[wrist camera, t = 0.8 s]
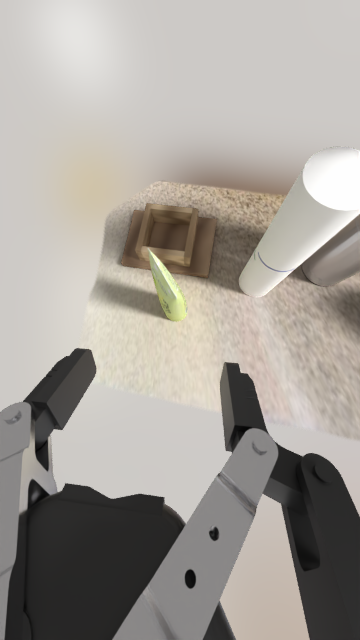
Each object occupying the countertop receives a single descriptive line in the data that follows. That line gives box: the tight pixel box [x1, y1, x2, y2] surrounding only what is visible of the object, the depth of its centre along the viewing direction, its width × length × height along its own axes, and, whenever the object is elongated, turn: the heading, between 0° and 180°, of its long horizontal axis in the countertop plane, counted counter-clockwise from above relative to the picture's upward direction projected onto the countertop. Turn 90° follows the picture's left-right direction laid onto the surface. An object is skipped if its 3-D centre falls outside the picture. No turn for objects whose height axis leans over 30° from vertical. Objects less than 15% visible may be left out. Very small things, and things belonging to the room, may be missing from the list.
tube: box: [148, 248, 187, 322], centre depth 33 cm, size 6×5×20 cm
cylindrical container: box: [239, 147, 360, 297], centre depth 30 cm, size 7×7×25 cm
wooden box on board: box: [121, 203, 217, 278], centre depth 43 cm, size 20×14×6 cm
